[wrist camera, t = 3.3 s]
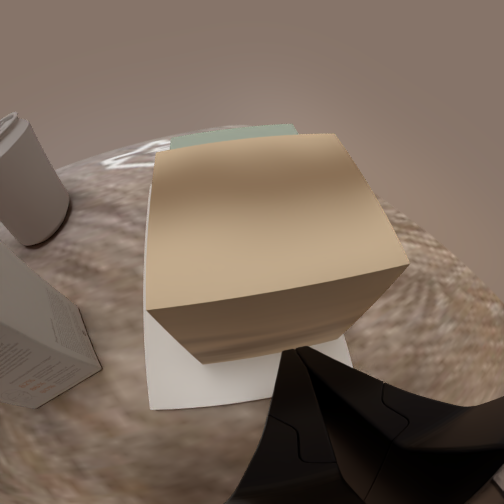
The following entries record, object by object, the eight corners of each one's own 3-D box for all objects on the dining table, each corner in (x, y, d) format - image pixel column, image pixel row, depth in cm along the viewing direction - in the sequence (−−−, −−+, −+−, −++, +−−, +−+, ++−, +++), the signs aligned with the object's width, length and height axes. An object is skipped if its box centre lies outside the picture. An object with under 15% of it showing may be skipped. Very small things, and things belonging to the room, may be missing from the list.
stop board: (293, 187, 22) (300, 137, 18) (183, 202, 21) (169, 153, 17) (287, 172, 23) (292, 123, 19) (182, 186, 22) (170, 138, 18)
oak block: (337, 339, 15) (410, 263, 8) (202, 364, 14) (146, 310, 7) (307, 243, 19) (334, 133, 11) (192, 261, 18) (156, 152, 11)
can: (24, 213, 23) (-26, 137, 13) (72, 184, 25) (29, 96, 15) (19, 262, 19) (-51, 180, 9) (74, 229, 21) (10, 127, 11)
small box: (79, 305, 17) (-11, 220, 8) (105, 370, 15) (-14, 311, 6) (17, 349, 15) (-75, 292, 6) (35, 411, 12) (-75, 376, 3)
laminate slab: (349, 377, 15) (355, 375, 14) (155, 409, 14) (150, 409, 13) (283, 173, 24) (284, 165, 23) (153, 192, 23) (150, 184, 22)
